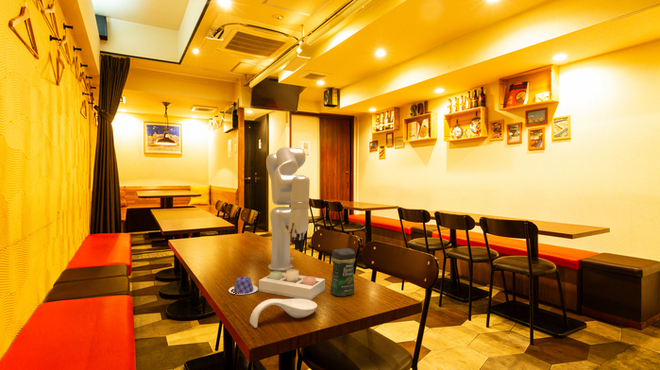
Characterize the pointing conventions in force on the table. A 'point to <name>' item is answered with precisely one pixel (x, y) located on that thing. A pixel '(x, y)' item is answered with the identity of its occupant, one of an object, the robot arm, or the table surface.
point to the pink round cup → (309, 280)
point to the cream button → (292, 275)
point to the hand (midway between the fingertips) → (298, 248)
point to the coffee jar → (343, 272)
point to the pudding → (243, 286)
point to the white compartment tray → (292, 287)
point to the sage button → (276, 275)
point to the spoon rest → (285, 308)
